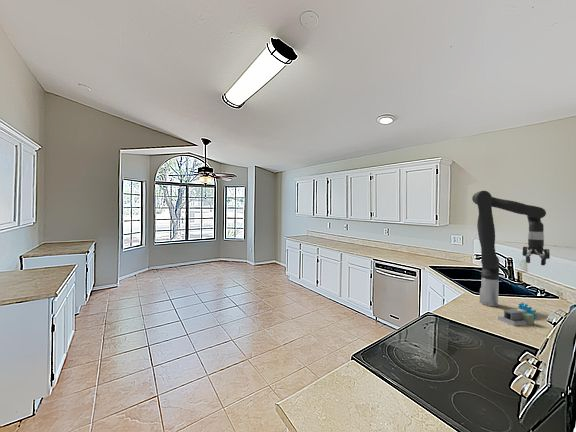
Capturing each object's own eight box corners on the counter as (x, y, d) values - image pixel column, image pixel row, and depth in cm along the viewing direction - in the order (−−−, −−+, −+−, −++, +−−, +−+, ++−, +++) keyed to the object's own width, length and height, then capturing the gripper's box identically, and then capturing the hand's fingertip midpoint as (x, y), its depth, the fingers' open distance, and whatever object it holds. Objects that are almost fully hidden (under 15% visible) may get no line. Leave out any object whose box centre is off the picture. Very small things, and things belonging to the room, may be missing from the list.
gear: (527, 318, 157) (516, 301, 164) (518, 322, 161) (508, 306, 169) (543, 319, 159) (531, 303, 167) (534, 323, 164) (523, 307, 171)
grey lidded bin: (513, 317, 159) (513, 309, 159) (522, 321, 154) (522, 312, 154) (503, 318, 157) (503, 310, 157) (512, 322, 153) (512, 313, 152)
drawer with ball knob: (497, 319, 160) (497, 308, 159) (515, 317, 163) (515, 307, 163) (514, 326, 150) (515, 315, 150) (534, 324, 153) (534, 313, 153)
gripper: (553, 239, 173) (552, 265, 173) (528, 237, 186) (528, 261, 187) (544, 239, 171) (543, 266, 171) (519, 237, 185) (519, 262, 185)
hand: (535, 264), depth 179 cm, fingers open, 8 cm apart
